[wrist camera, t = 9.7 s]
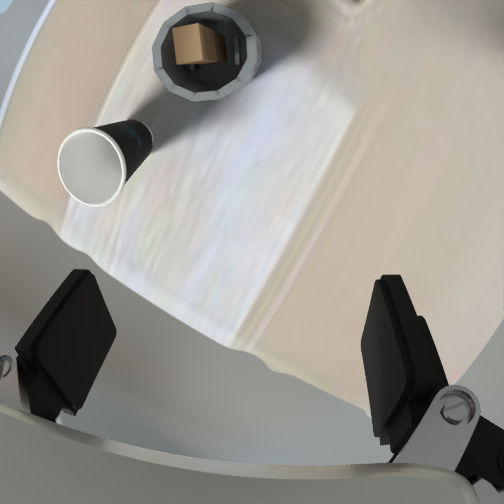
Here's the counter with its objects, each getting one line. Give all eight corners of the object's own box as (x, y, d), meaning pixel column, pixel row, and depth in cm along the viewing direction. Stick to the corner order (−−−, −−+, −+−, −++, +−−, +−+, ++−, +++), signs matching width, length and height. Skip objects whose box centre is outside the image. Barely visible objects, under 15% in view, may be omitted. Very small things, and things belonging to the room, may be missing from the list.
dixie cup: (108, 166, 38) (60, 202, 29) (108, 106, 33) (54, 127, 24) (164, 173, 38) (126, 212, 29) (168, 109, 33) (125, 129, 24)
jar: (259, 12, 27) (253, -2, 21) (264, 91, 32) (259, 97, 25) (175, 21, 28) (149, 13, 22) (181, 97, 33) (158, 105, 26)
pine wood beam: (224, 35, 28) (198, 23, 19) (227, 61, 29) (202, 59, 20) (205, 38, 28) (172, 28, 19) (208, 64, 30) (176, 64, 20)
